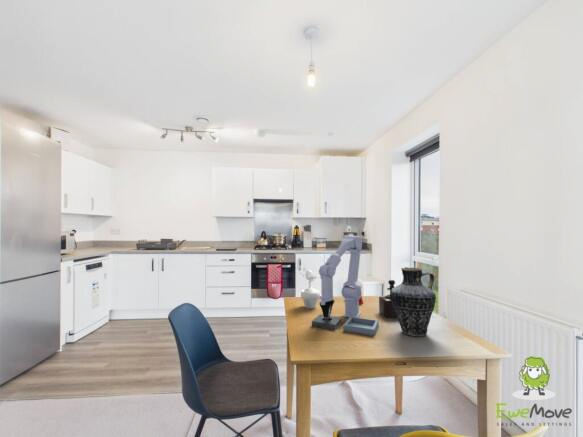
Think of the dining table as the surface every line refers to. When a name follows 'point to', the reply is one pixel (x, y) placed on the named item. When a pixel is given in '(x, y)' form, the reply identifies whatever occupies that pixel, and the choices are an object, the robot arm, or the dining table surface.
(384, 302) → the dark piece
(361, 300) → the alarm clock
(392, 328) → the dining table surface
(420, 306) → the jug
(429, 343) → the dining table surface
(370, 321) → the tray
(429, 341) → the dining table surface
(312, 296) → the potted plant
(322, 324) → the grey square frame
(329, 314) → the pin
